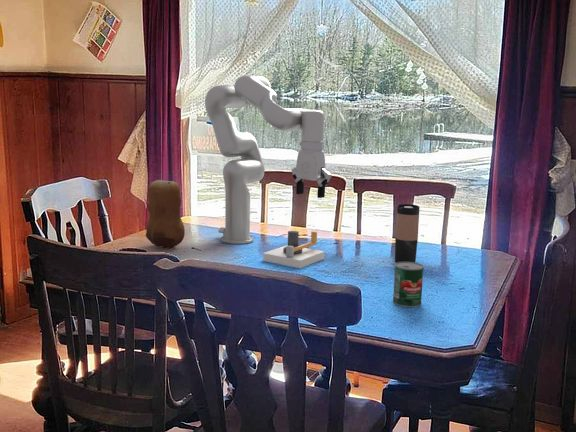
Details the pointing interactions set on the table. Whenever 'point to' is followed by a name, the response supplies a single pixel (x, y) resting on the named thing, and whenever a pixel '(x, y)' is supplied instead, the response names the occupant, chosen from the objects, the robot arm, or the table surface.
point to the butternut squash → (164, 214)
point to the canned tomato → (408, 284)
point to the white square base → (294, 257)
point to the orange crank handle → (292, 249)
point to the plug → (293, 241)
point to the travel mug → (406, 233)
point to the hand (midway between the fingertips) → (310, 195)
